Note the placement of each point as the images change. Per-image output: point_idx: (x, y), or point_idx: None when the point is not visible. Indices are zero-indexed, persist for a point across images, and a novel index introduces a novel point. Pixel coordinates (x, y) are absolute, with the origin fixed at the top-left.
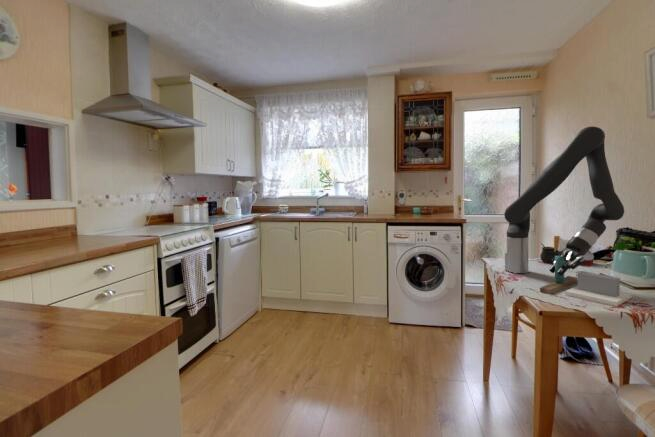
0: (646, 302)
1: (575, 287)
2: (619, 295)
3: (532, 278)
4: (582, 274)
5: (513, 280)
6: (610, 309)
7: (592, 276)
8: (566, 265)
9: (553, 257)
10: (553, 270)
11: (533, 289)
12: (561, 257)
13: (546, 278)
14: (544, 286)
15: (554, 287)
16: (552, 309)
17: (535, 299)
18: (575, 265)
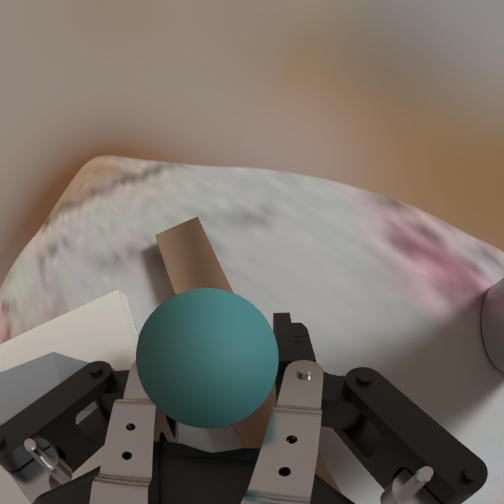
0: None
1: None
2: None
3: (416, 334)
4: (38, 360)
5: (392, 229)
6: (5, 309)
7: (8, 371)
8: (134, 369)
9: (395, 400)
10: None
11: (241, 225)
12: (142, 330)
13: None
14: (204, 246)
15: (171, 278)
16: (77, 174)
17: (145, 172)
18: (93, 427)
